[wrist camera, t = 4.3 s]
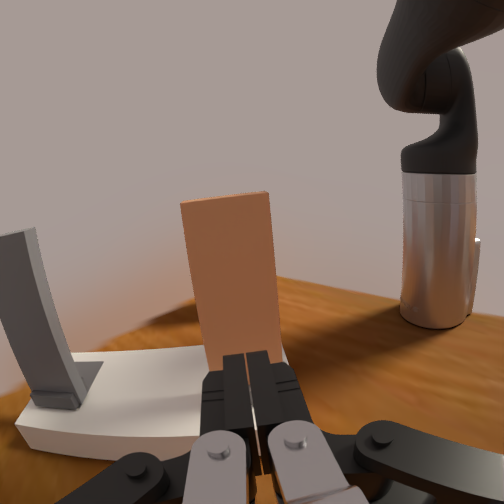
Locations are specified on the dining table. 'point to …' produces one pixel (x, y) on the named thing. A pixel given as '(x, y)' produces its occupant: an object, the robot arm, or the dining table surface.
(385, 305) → the dining table surface
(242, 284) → the orange block
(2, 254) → the graphite paddle
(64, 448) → the switch console
